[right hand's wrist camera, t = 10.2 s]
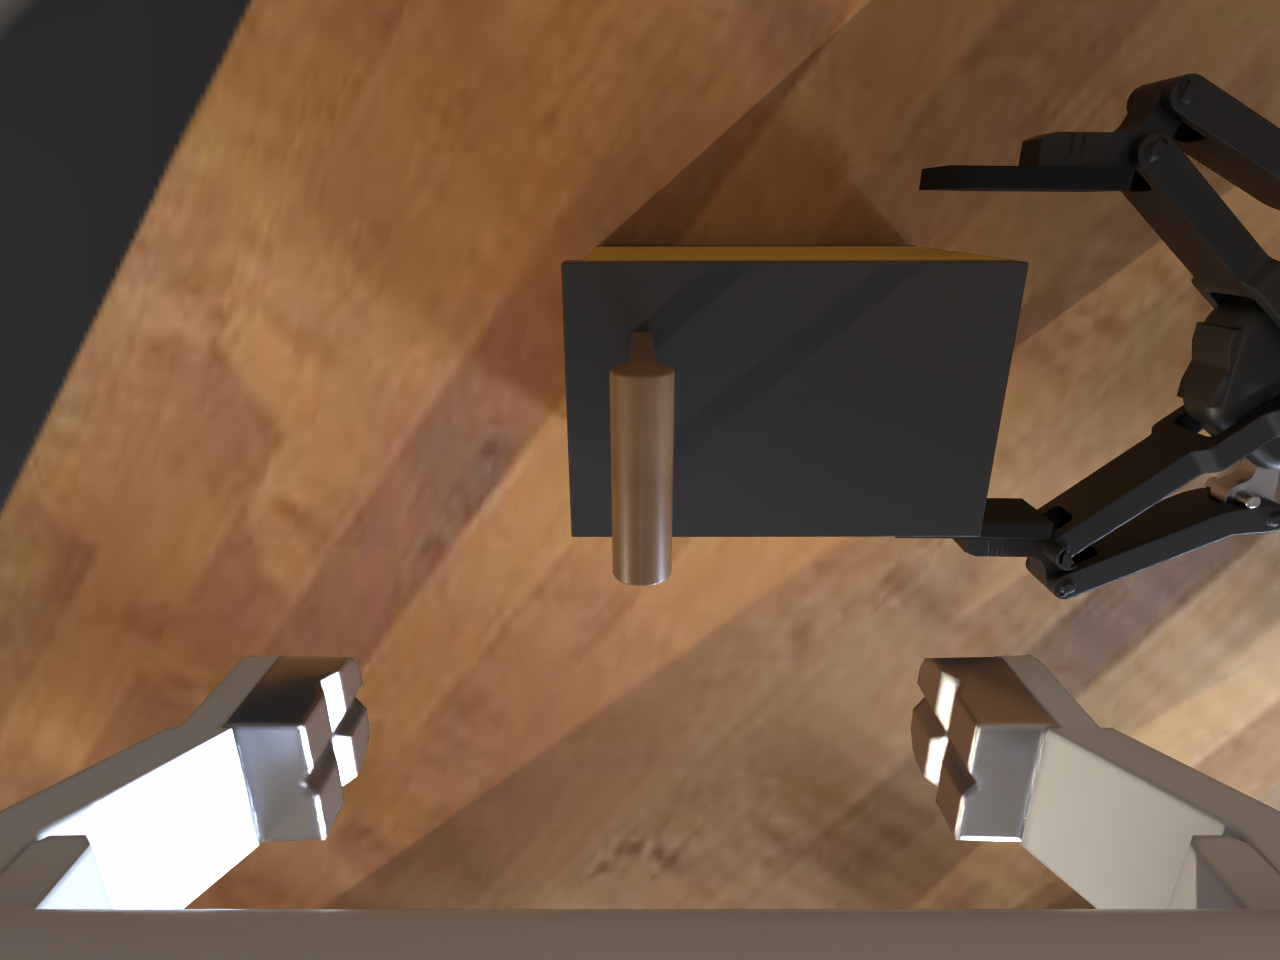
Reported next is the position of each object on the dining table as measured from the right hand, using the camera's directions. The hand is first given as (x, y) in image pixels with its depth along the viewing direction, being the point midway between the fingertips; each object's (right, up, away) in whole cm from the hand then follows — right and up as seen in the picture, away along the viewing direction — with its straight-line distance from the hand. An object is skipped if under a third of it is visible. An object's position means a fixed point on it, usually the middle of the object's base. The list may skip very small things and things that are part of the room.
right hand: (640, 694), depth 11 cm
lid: (+5, +6, +16) cm, 18 cm away
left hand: (+11, +8, +19) cm, 23 cm away
